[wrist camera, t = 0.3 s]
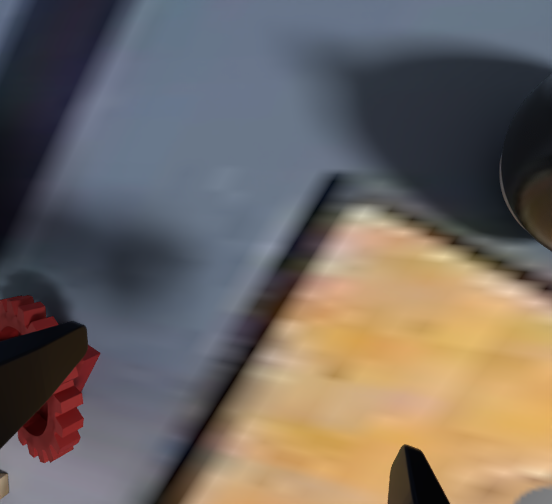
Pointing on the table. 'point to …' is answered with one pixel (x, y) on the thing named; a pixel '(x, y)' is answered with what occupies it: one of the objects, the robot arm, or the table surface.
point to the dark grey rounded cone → (530, 164)
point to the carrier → (3, 485)
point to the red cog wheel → (63, 403)
